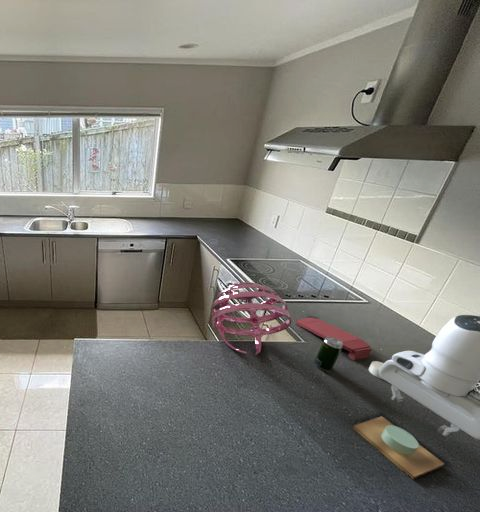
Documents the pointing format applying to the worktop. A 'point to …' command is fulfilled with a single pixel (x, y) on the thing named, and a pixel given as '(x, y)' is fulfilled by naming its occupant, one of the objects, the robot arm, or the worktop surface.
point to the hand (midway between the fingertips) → (417, 416)
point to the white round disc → (375, 368)
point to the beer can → (328, 353)
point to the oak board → (410, 464)
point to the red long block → (337, 337)
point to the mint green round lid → (399, 440)
